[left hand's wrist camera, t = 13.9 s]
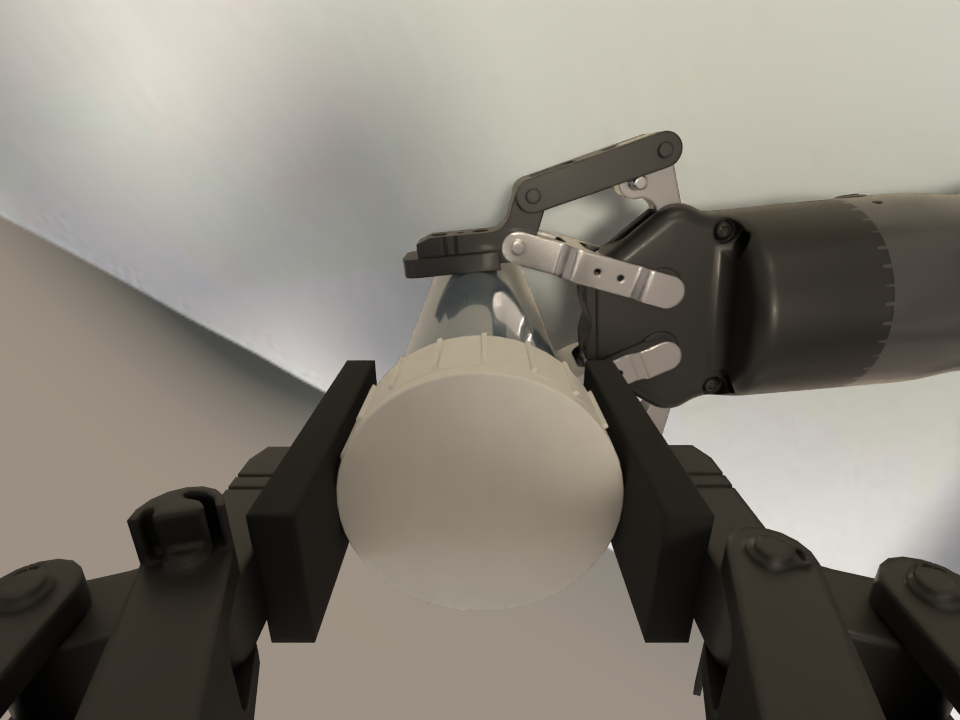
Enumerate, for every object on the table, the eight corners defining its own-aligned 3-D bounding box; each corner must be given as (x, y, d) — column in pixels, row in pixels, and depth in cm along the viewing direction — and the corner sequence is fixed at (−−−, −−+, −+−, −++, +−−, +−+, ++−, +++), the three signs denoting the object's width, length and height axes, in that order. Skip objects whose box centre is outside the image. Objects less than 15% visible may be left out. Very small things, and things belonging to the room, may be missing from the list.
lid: (418, 572, 14) (408, 643, 12) (311, 385, 12) (276, 433, 10) (631, 504, 13) (659, 569, 11) (556, 291, 11) (573, 321, 9)
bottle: (416, 269, 27) (316, 442, 10) (501, 225, 26) (538, 339, 10) (460, 348, 28) (433, 606, 12) (541, 309, 27) (631, 529, 11)
